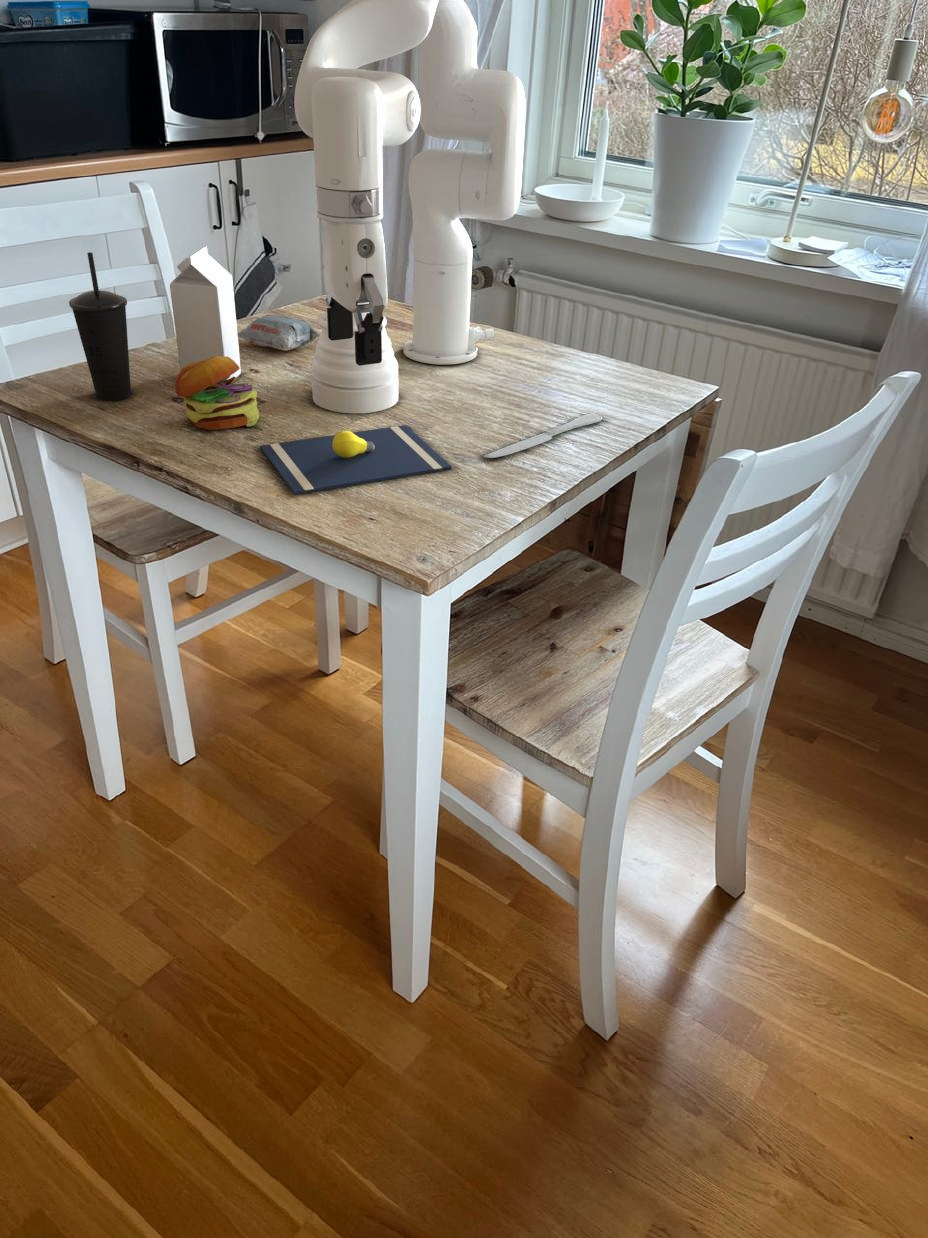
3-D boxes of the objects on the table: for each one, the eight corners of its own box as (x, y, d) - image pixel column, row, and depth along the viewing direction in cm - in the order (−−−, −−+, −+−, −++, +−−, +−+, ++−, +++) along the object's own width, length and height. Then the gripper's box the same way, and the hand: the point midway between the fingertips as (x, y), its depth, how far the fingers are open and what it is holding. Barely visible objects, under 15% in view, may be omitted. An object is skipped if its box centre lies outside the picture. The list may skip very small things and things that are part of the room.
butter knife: (607, 417, 138) (591, 411, 140) (493, 459, 124) (477, 452, 125) (606, 419, 138) (591, 414, 140) (493, 462, 124) (477, 455, 125)
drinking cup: (93, 385, 142) (68, 245, 131) (145, 386, 142) (124, 247, 132) (80, 403, 135) (52, 258, 124) (135, 404, 136) (112, 259, 125)
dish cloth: (406, 427, 133) (406, 424, 133) (451, 468, 122) (451, 465, 122) (260, 448, 125) (259, 445, 125) (294, 494, 114) (294, 491, 113)
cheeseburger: (240, 438, 127) (216, 365, 122) (176, 444, 131) (150, 374, 126) (276, 412, 135) (255, 343, 130) (214, 418, 139) (191, 351, 134)
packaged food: (289, 360, 155) (287, 329, 152) (234, 346, 160) (231, 317, 157) (321, 348, 162) (320, 318, 159) (267, 335, 166) (265, 306, 164)
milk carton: (241, 373, 149) (229, 247, 139) (227, 388, 143) (214, 257, 133) (197, 370, 149) (182, 244, 139) (182, 385, 143) (165, 254, 133)
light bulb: (326, 456, 122) (328, 428, 122) (366, 460, 126) (367, 433, 125) (339, 457, 120) (341, 429, 119) (379, 461, 123) (381, 433, 123)
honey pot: (294, 396, 142) (287, 271, 132) (359, 377, 150) (356, 259, 140) (351, 420, 134) (348, 290, 125) (415, 399, 142) (417, 276, 133)
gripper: (410, 216, 102) (409, 370, 112) (354, 186, 115) (358, 327, 125) (344, 220, 99) (350, 378, 109) (294, 189, 112) (303, 333, 122)
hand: (354, 350), depth 117 cm, fingers open, 9 cm apart
